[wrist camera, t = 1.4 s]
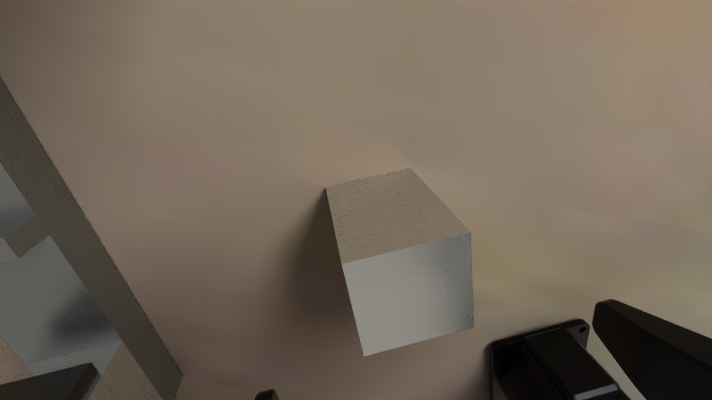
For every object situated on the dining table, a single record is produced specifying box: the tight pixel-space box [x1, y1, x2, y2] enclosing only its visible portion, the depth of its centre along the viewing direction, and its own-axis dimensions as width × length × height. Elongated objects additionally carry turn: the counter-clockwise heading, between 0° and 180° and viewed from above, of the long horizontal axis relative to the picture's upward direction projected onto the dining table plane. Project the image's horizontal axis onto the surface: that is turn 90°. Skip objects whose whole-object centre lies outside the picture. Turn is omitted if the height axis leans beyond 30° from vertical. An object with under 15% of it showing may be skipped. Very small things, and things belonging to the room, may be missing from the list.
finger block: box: [326, 168, 474, 356], centre depth 14 cm, size 5×4×6 cm
